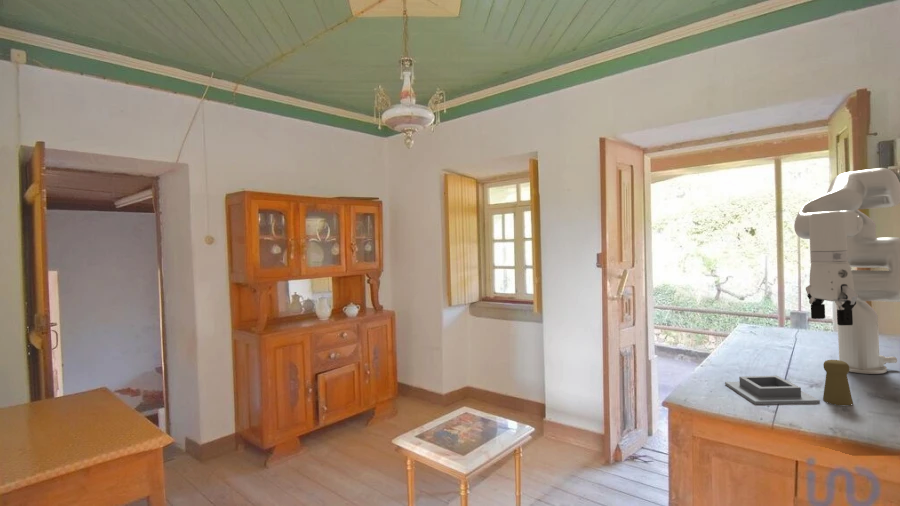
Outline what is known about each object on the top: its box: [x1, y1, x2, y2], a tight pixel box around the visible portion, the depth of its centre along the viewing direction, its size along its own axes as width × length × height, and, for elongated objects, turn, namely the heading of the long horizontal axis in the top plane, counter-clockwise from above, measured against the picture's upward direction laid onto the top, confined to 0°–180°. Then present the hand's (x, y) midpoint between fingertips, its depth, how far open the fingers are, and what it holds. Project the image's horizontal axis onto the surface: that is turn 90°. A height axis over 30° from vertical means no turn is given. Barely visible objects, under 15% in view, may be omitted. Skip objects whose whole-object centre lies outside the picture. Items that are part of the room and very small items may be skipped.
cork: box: [822, 359, 854, 406], centre depth 116 cm, size 6×6×11 cm
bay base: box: [724, 375, 821, 405], centre depth 124 cm, size 16×16×3 cm
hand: (831, 321), depth 116 cm, fingers open, 9 cm apart
